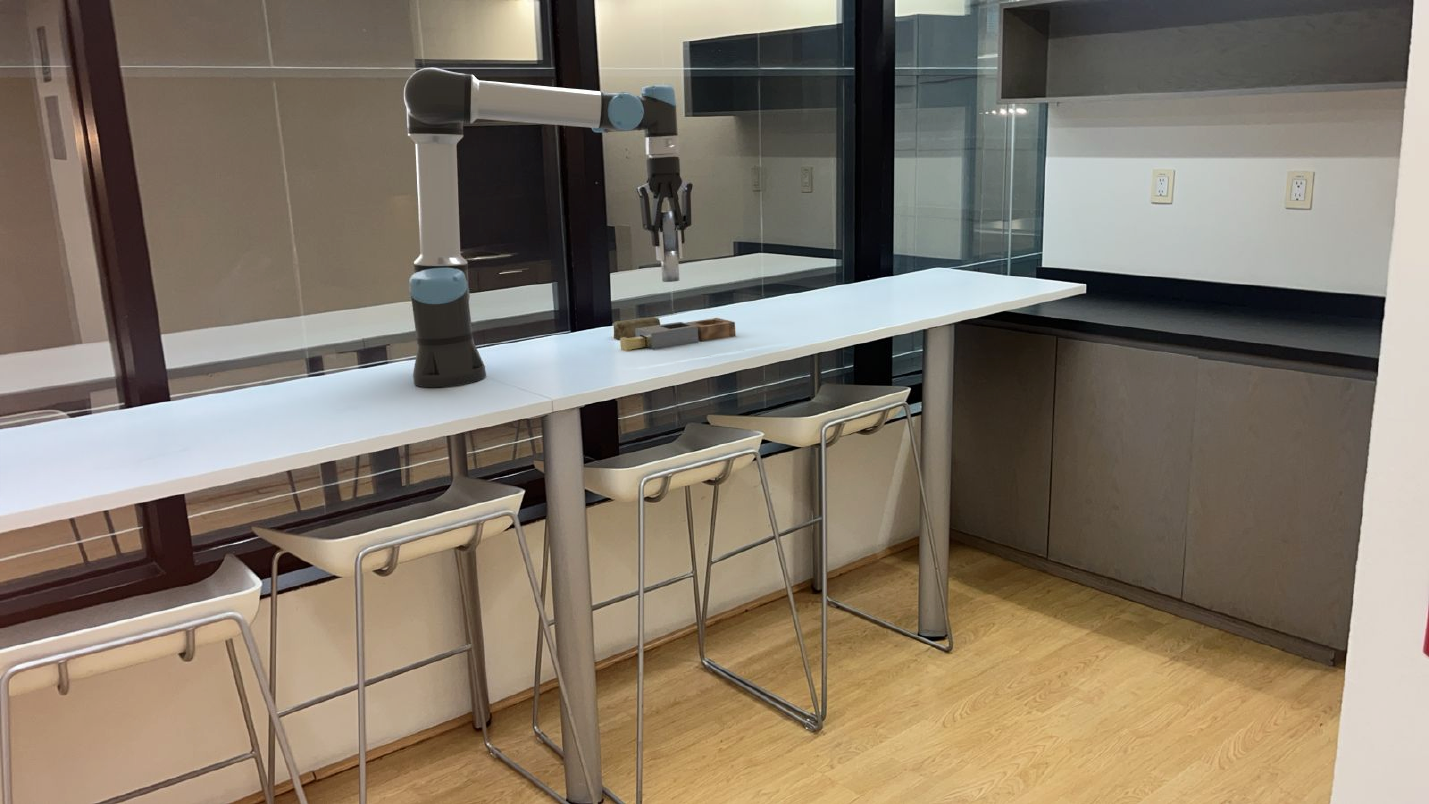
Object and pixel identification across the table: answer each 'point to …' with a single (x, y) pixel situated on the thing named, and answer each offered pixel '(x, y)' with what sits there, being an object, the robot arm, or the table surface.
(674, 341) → the socket
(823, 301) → the table surface
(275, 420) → the table surface
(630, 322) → the stone block
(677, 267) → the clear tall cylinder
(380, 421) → the table surface
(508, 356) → the table surface
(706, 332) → the brown wooden open box
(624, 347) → the tan wooden bar
